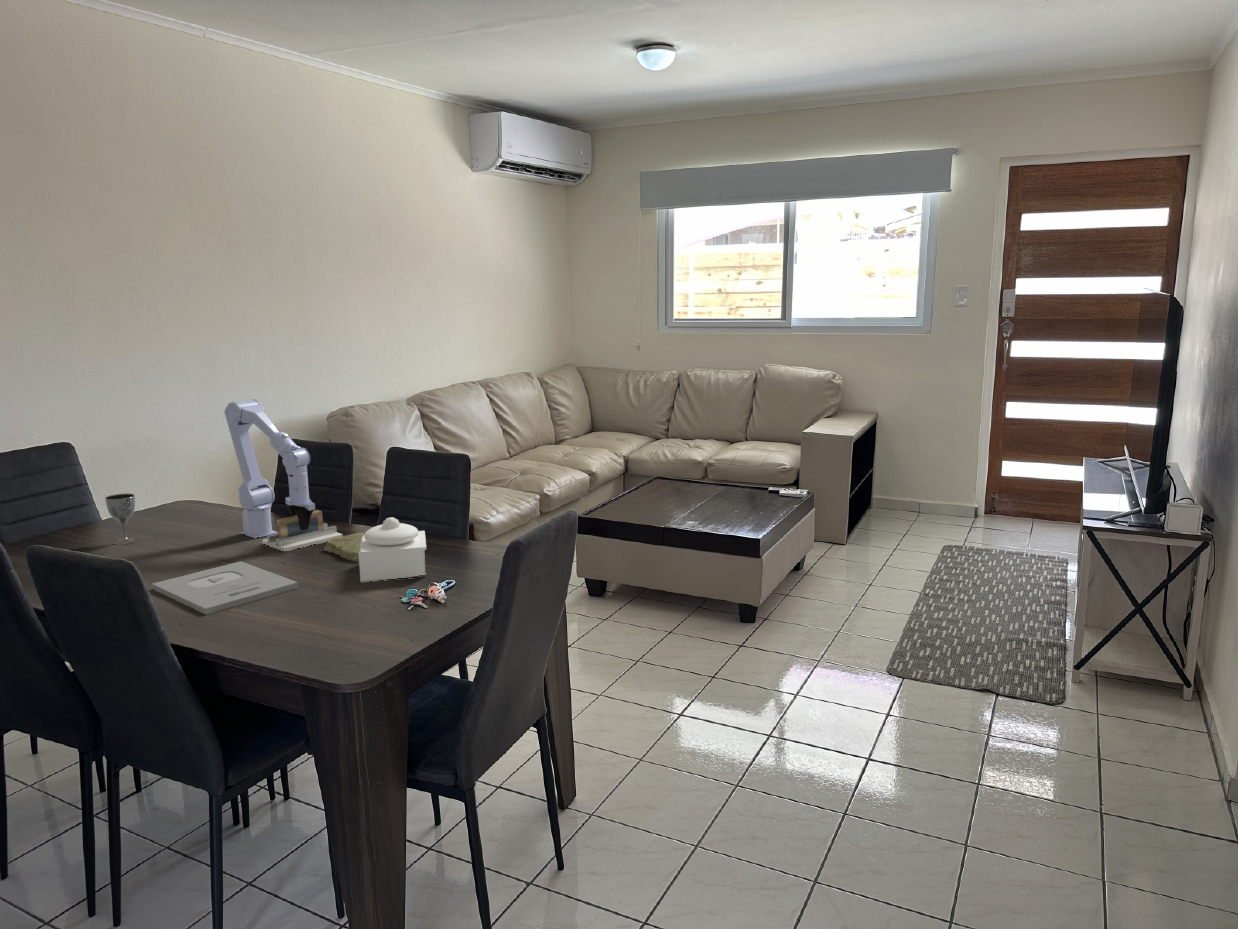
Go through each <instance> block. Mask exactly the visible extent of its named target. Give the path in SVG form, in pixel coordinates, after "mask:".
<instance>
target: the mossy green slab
mask: <svg viewBox="0 0 1238 929" xmlns="http://www.w3.org/2000/svg"><path fill="white" fill-rule="evenodd" d="M365 533H366V531H365V532H356V533H351V534H348V535H343V537H340V538H335V539H333V540H331V541H328V542H325V546H324V547H323V549H324V551H325V552H327V551H328V552H327V553H332V552H333V554H335V555H337V556H339V555H340V556H339V557H340V558H342V559H344V558H346V559H345V560H349V561H353V562H355V561H358V562H357V563H359V551H360V545H361V537H363V535H364V534H365Z"/></svg>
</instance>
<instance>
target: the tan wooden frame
mask: <svg viewBox="0 0 1238 929" xmlns="http://www.w3.org/2000/svg"><path fill="white" fill-rule="evenodd" d="M276 523H277V534H279V538H283V537H287V536H291V535H296V534H300V533H304V532H309V531H313V530H318V529H322V528H324V527H323V523H324V517H323V511H321V510H317V509H315V510H314V511H313V513H312V515H311V518H310V522H309V527H308V529H306V530H301V528H300V523H299V519H298V516H297V515H296V516H291V515H290V516H288V517H284V518H280V519H277V520H276Z"/></svg>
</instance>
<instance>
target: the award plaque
mask: <svg viewBox="0 0 1238 929" xmlns="http://www.w3.org/2000/svg"><path fill="white" fill-rule="evenodd" d="M151 586H152V587H151V588H152V590H153V589H156V590H157V591H158V592H157V591H156V592H157V593H159V592H161V593H162V594H161V593H160V594H161V595H163V594H164V595H163V596H165V595H166V596H165V597H167V596H168V598H169V597H170V599H171V598H172V600H173V599H175V600H174V601H175V602H177V603H180V602H181V603H180V604H182V603H183V605H185V606H187V607H188V606H189V607H188V608H190V607H191V609H192V608H193V610H195V611H197V612H198V613H201V614H203V615H205V616H209V615H212V614H215V613H217V612H222V611H224V610H225V611H226V610H228V609H232V608H235V607H239V606H242V605H245V604H249V603H252V602H255V601H259V600H262V599H263V600H264V599H265V598H269V597H272V596H275V595H279V594H282V593H287V592H290V591H293V590H296V589H299V584H298V582H297V581H295V580H293V579H290V578H287V577H284V576H282V575H279V574H278V573H277V574H276V573H274V572H271V571H269V570H265V569H263V568H260V567H258V566H255V565H252V564H251V563H247V562H244V561H243V560H242V561H236V562H233V563H227V564H226V565H221V566H217V567H212V568H208V569H204V570H201V571H197V572H193V573H192V572H191V573H189V574H185V575H182V576H178V577H173V578H170V579H165V580H162V581H156V582H153V583H151Z"/></svg>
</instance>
